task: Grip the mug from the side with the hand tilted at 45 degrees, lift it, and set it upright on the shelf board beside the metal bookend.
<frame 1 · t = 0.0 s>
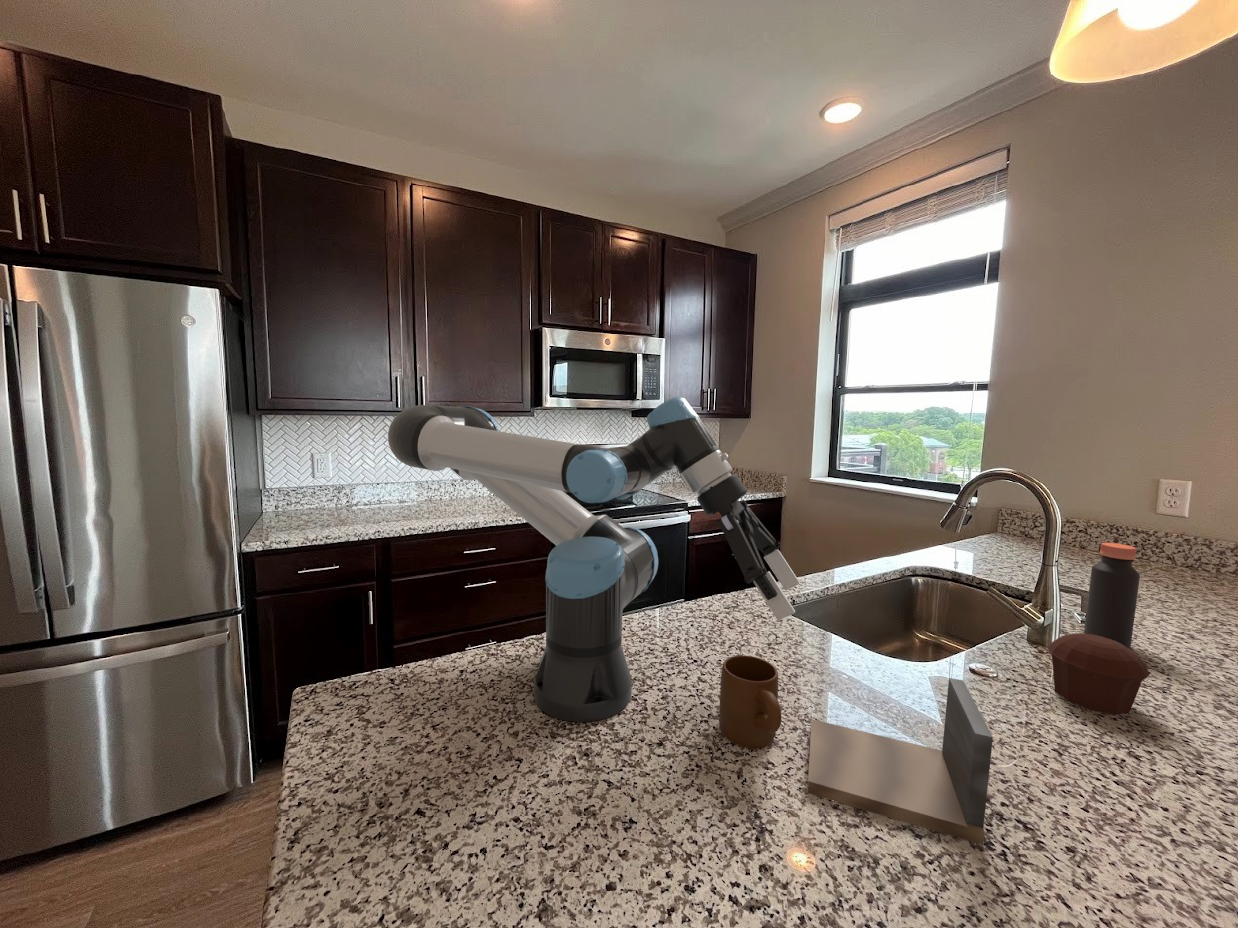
hand: (790, 600, 77), 15 cm above the countertop, tool tilted 35°, fingers open, 13 cm apart
bottle: (1106, 643, 100), on the countertop
muffin: (1091, 700, 79), on the countertop
shelf: (883, 778, 60), on the countertop
mug: (753, 744, 66), on the countertop
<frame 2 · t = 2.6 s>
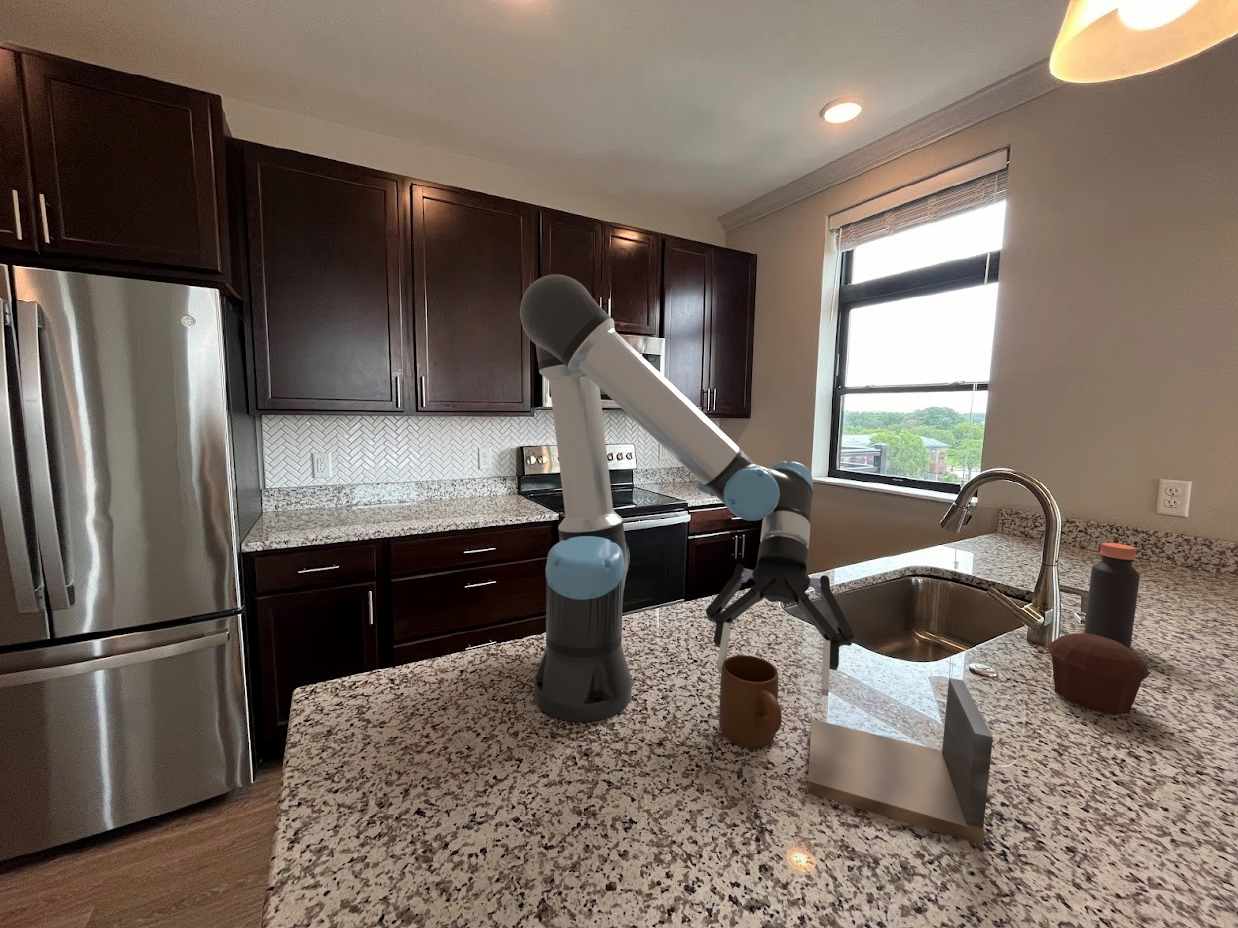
hand: (770, 681, 67), 8 cm above the countertop, tool tilted 45°, fingers open, 13 cm apart
mug: (753, 744, 66), on the countertop, touching gripper
everything else where it was.
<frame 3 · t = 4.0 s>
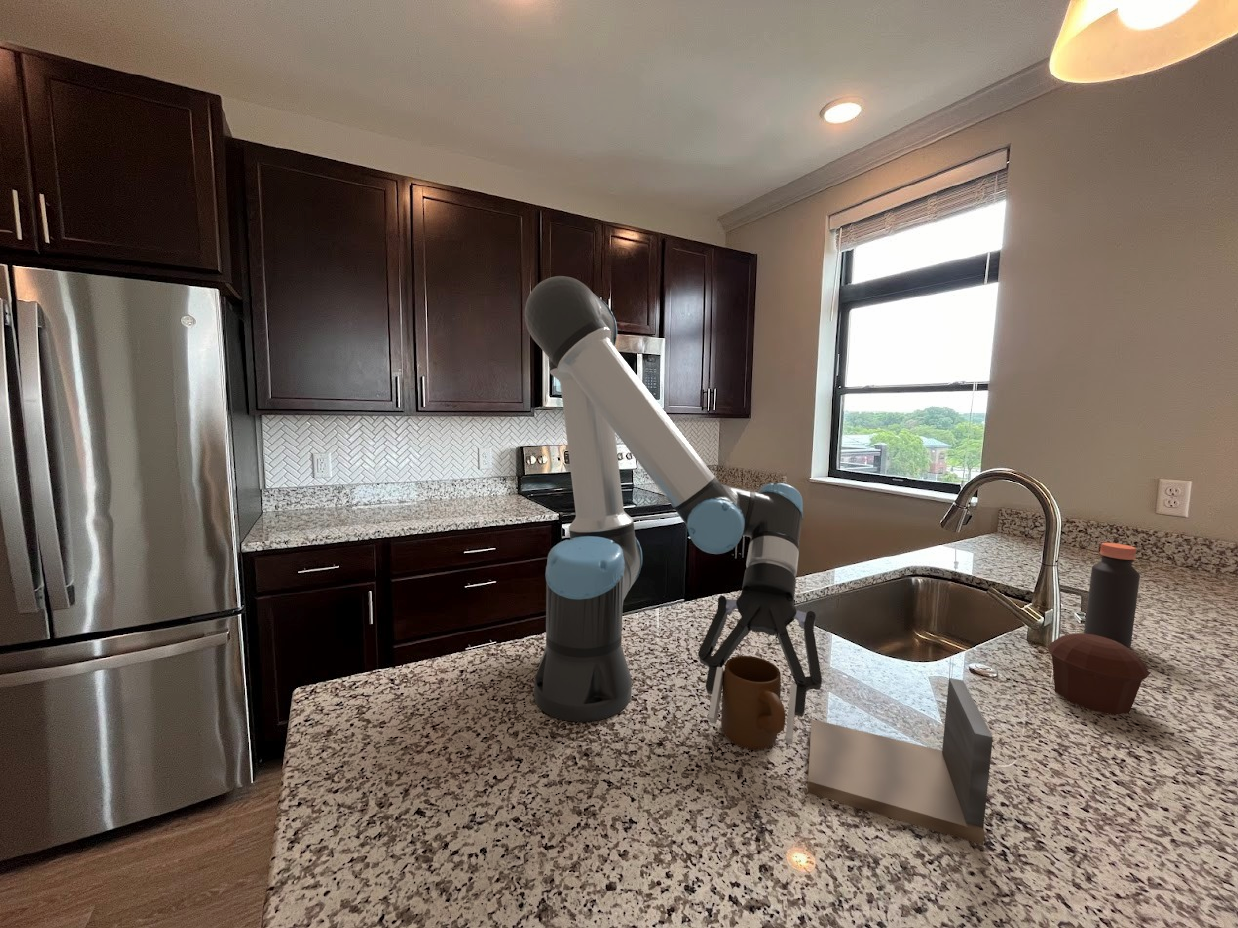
hand: (749, 730, 63), 4 cm above the countertop, tool tilted 45°, fingers open, 9 cm apart
nothing on the countertop moved.
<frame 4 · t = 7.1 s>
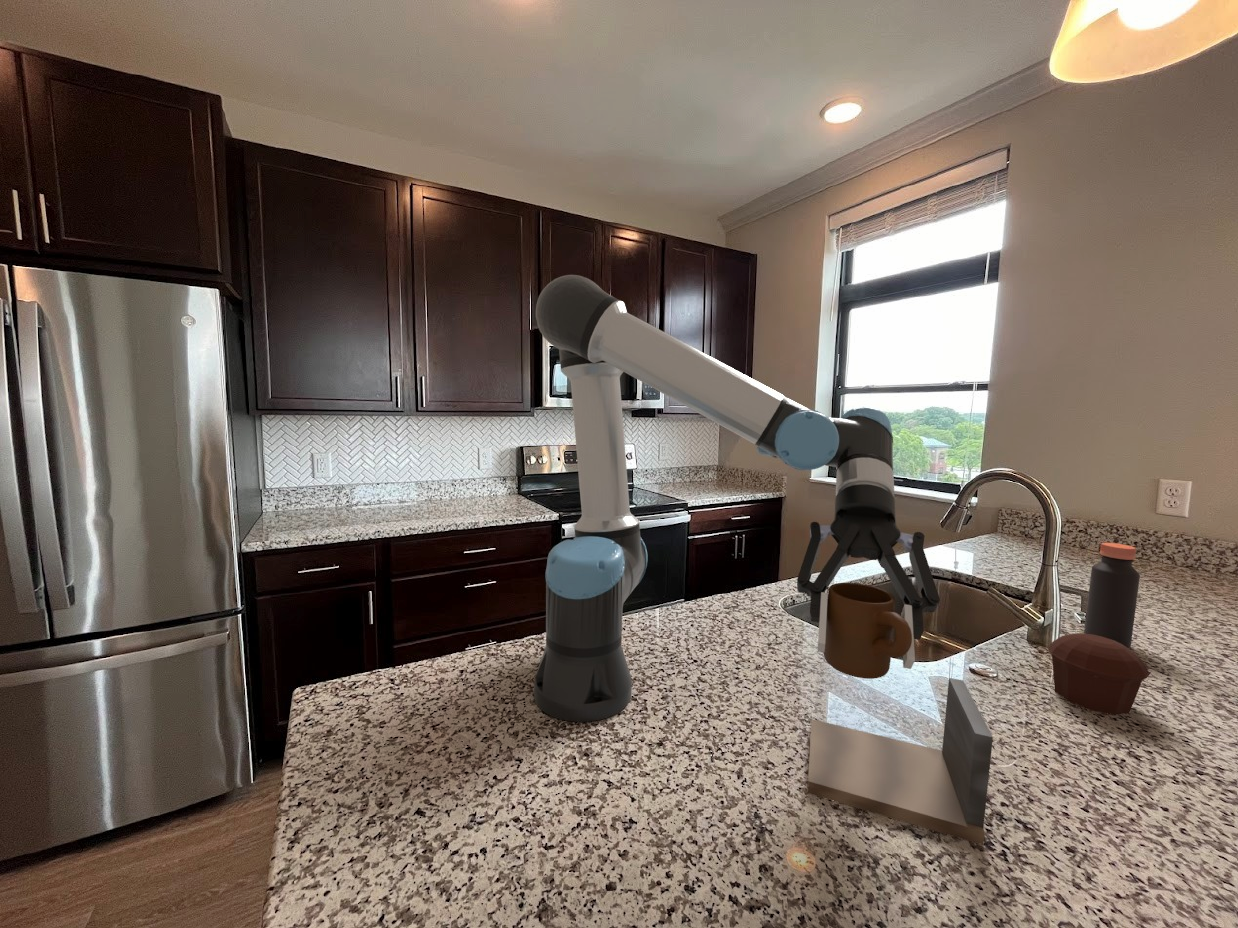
hand: (863, 655, 57), 16 cm above the countertop, tool tilted 45°, fingers closed on mug, 8 cm apart
mug: (866, 675, 60), point 13 cm above the countertop, touching gripper
everything else where it was.
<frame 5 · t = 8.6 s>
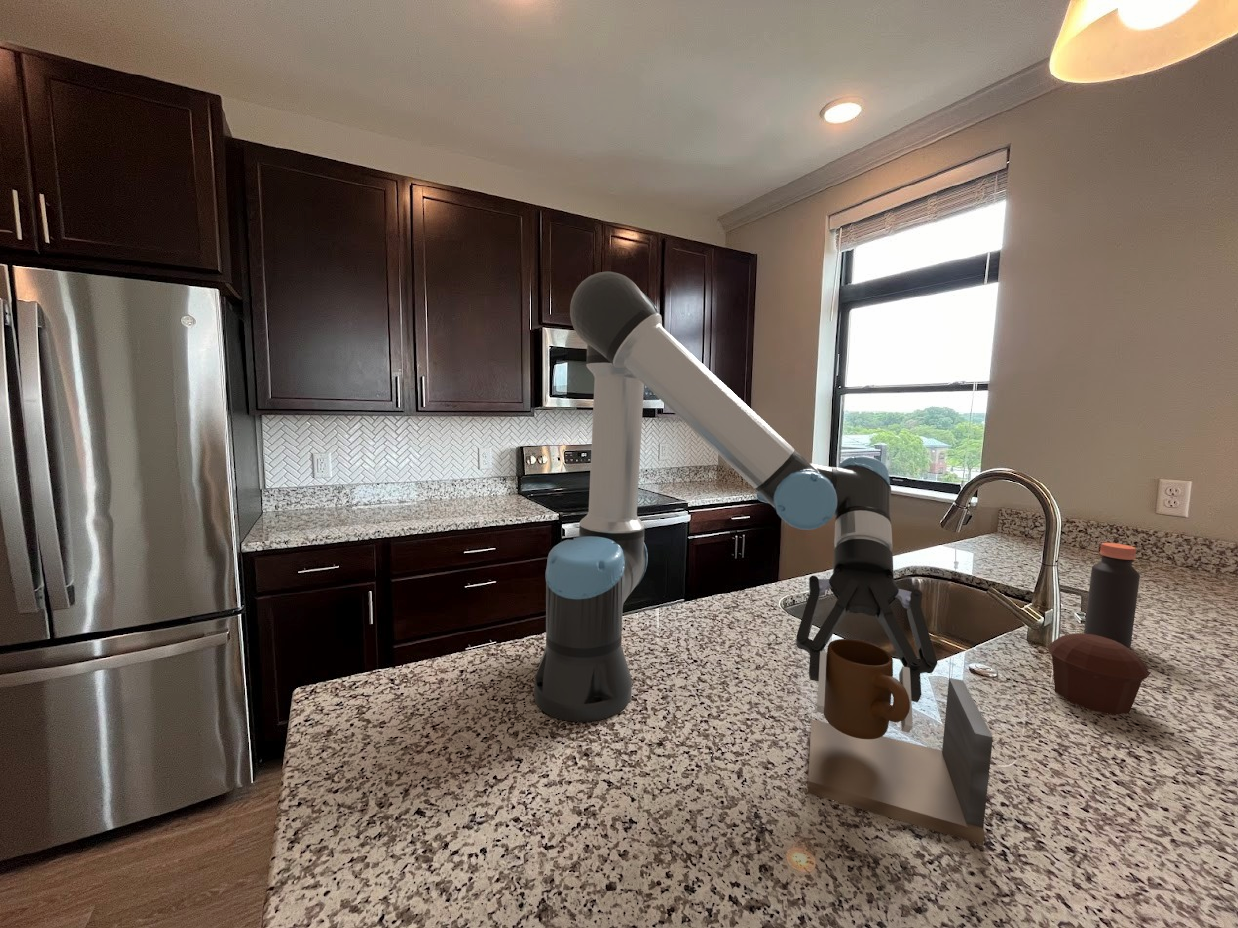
hand: (862, 718, 58), 9 cm above the countertop, tool tilted 45°, fingers closed on mug, 8 cm apart
mug: (865, 734, 61), point 5 cm above the countertop, touching gripper
everything else where it was.
when the fingers open (6 cm above the countertop, at t = 9.8 s): mug moves 1 cm, resting on shelf.
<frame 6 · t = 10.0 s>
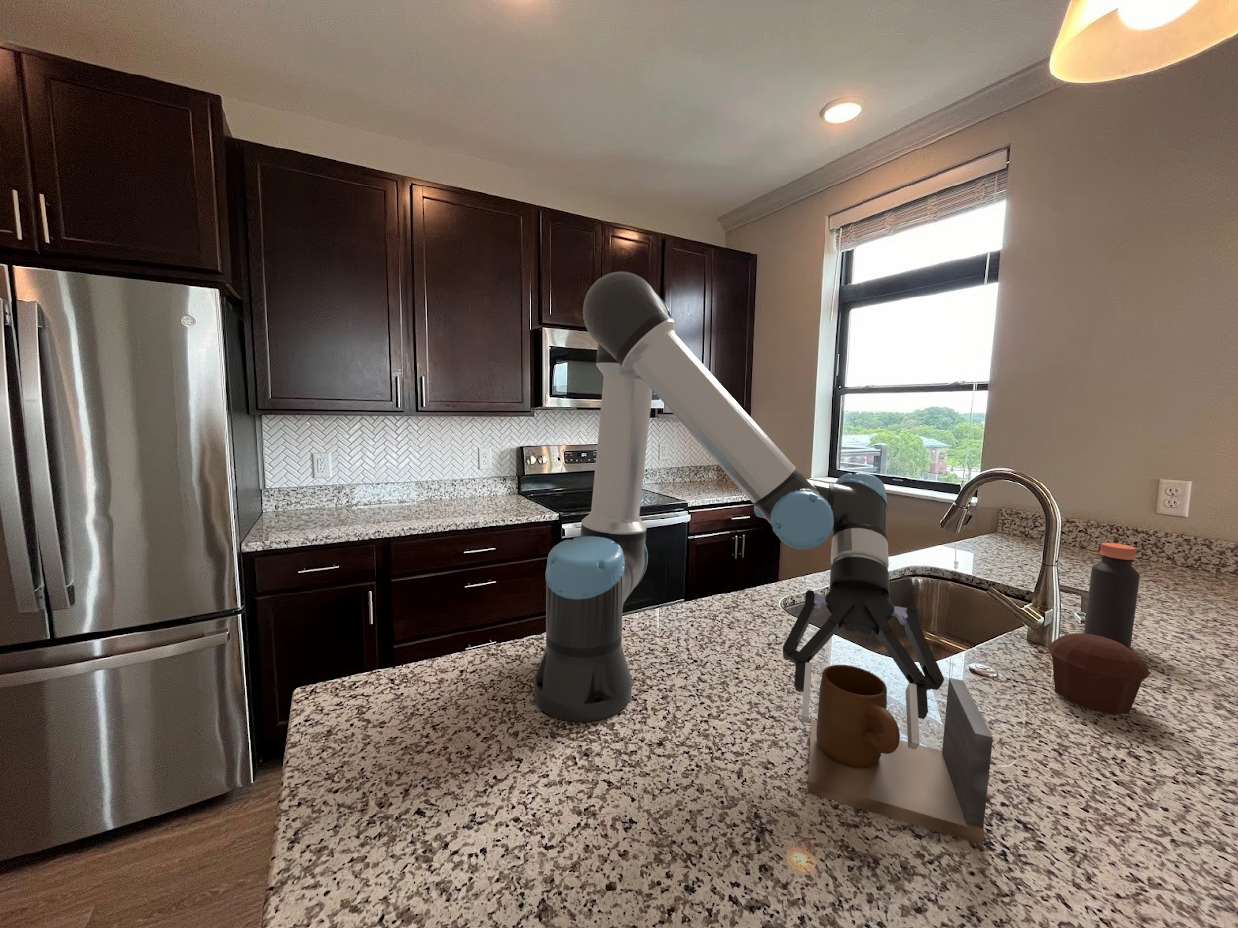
hand: (857, 732, 58), 7 cm above the countertop, tool tilted 45°, fingers open, 11 cm apart
mug: (857, 762, 61), point 1 cm above the countertop, touching shelf
everything else where it was.
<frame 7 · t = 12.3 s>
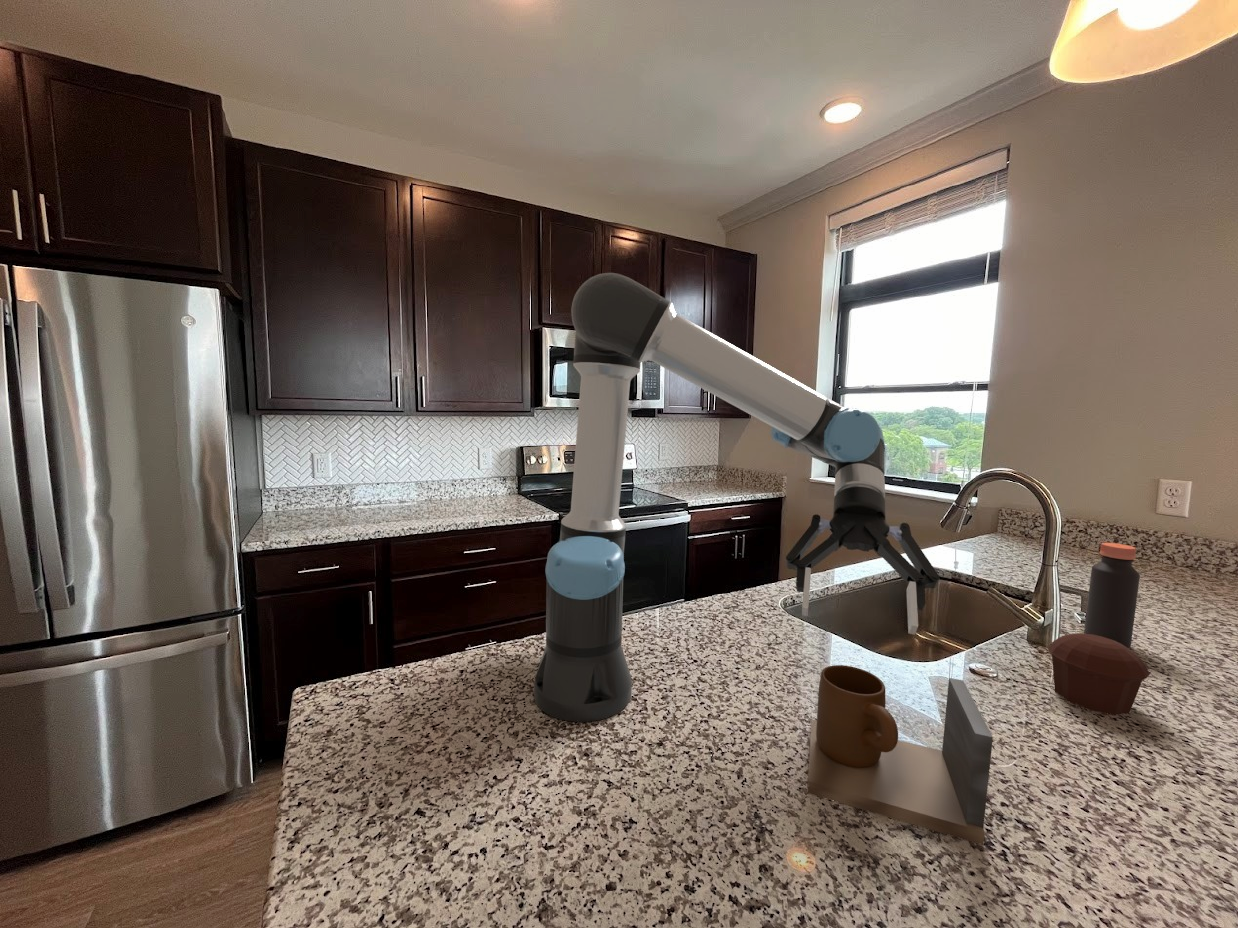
hand: (857, 620, 69), 16 cm above the countertop, tool tilted 45°, fingers open, 13 cm apart
nothing on the countertop moved.
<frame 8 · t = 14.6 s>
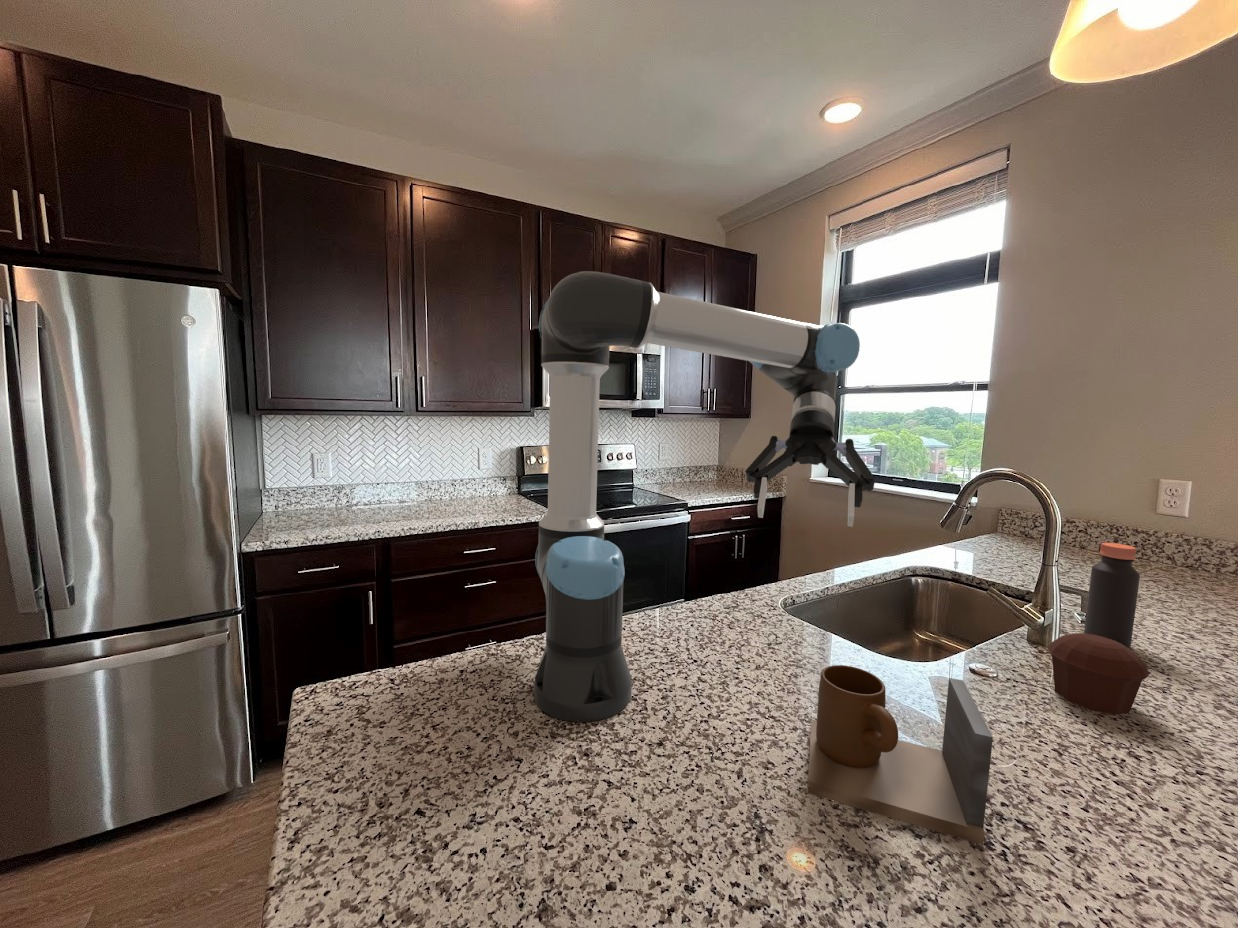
hand: (803, 517, 79), 28 cm above the countertop, tool tilted 45°, fingers open, 13 cm apart
nothing on the countertop moved.
at the end: mug inside the target area on the shelf (0.4 cm from its centre), point 1.3 cm above the shelf's base; mug tilted 0°; the gripper is holding nothing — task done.
